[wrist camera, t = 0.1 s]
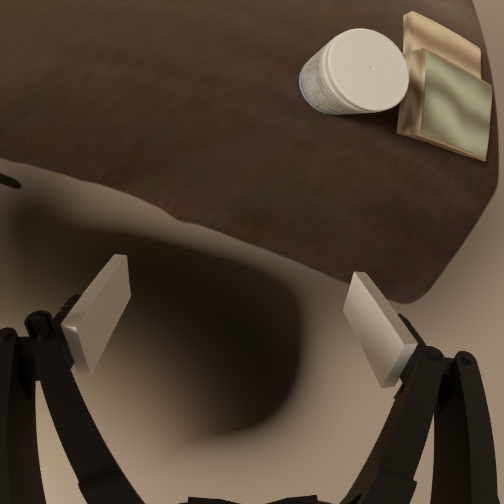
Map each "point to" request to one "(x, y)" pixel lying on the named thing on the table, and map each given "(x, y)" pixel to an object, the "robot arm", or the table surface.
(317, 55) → the supplement tub
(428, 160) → the table surface
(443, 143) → the birch riser
